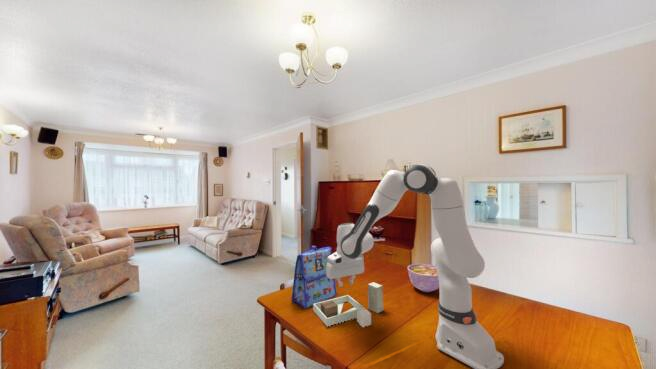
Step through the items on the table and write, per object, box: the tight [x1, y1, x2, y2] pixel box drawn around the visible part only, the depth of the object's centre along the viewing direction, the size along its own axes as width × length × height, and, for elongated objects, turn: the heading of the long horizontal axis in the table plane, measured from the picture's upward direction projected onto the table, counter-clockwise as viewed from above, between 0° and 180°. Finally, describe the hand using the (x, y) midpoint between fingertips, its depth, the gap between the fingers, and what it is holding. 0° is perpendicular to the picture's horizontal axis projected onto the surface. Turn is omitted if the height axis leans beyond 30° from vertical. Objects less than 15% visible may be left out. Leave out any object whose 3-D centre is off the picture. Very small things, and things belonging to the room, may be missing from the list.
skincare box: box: [367, 281, 384, 314], centre depth 119 cm, size 6×4×12 cm
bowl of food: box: [407, 263, 439, 293], centre depth 141 cm, size 20×20×12 cm
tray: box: [312, 294, 366, 328], centre depth 116 cm, size 15×20×4 cm
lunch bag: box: [291, 245, 338, 309], centre depth 131 cm, size 22×14×29 cm, turn 131°
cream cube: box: [356, 308, 372, 328], centre depth 107 cm, size 4×4×5 cm
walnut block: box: [321, 299, 338, 318], centre depth 113 cm, size 6×6×5 cm
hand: (345, 284), depth 118 cm, fingers open, 5 cm apart
